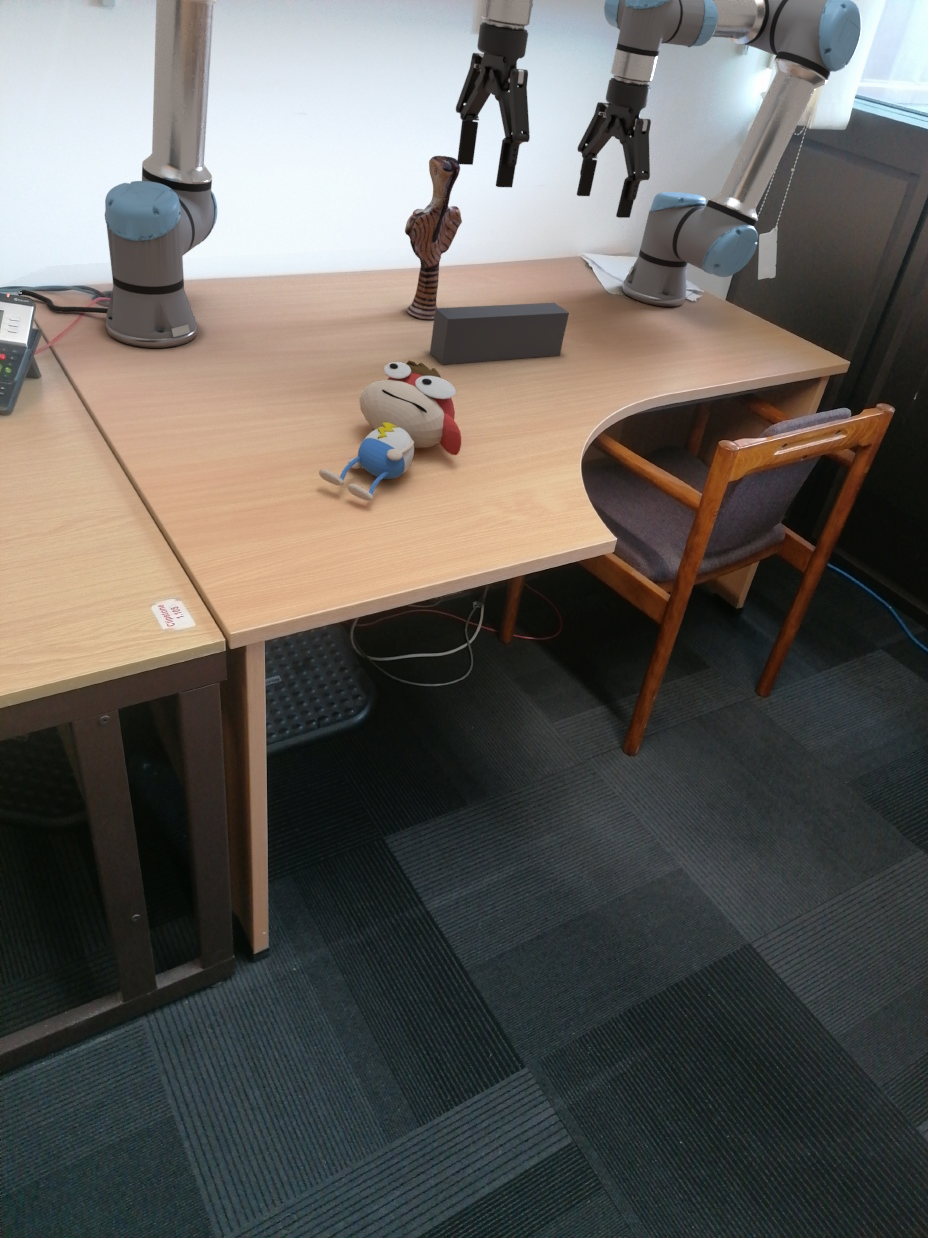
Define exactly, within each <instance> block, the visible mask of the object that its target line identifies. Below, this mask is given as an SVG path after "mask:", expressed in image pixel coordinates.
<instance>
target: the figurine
mask: <svg viewBox="0 0 928 1238" xmlns="http://www.w3.org/2000/svg"><path fill="white" fill-rule="evenodd" d="M428 171H429V176H430V179H431V182H432V196H431V197H432V199H431V200H430V202H429V204H427V205H426V206H425V208H416V209H414V210H413V212H412V214H410V216H409V218H408V219H407V221H406V223H405V224H406V225H405V228H404V233H405V235H407V236H408V237H409V242H410V247H411V248H412V251H413V253H414V254H415V255H414V256H416V257H417V258H418V259H419V262H420V269H419V273H418V278H417V279H418V280H417V285H416V291H415V294H414V297H413V299H412V302H411V303H410V305H409V306H408V307H407V308H406V311H407V314H409V315H411V316H413V317H416V318H418V319H421V320H422V319H423V320H434V316H435V308H438V307H437V296H438V290H439V289H438V288H439V277H440V262H441V258H442V255H443V254H444V253H446V252H448V250H449V249H450V247H451V245H452V243H453V241H454V239H455V237H456V235H457V233H458V230H459V228H460V226H461V224H462V223H463V220H462V216H461V214H462V213H461V210H460V208H459V207H458V206H456V205H451V206H449V203H450V198H451V194H452V191H453V188H454V185H455V183H456V181H457V179H458V178H459V175H460V171H461V164H458V163H457V158H455V157H452V156H446V155H434V156H432V157H431V158H430V159H429V161H428Z"/></svg>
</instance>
